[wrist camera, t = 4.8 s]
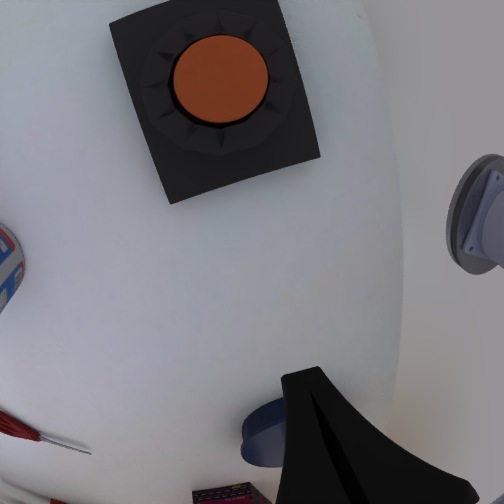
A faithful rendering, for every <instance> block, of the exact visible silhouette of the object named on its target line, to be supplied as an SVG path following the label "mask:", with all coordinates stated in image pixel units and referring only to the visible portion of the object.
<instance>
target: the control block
mask: <svg viewBox="0 0 504 504" xmlns="http://www.w3.org/2000/svg"><path fill="white" fill-rule="evenodd" d="M109 27H110V31H111V34H112V38H113V41H114V44H115V48H116V51H117V55H118V58H119V61H120V64H121V67H122V71H123V74H124V77H125V80H126V83H127V86H128V89H129V92H130V95H131V98H132V101H133V104H134V107H135V110H136V113H137V116H138V119H139V122H140V125H141V128H142V131H143V133H144V136H145V139H146V142H147V145H148V147H149V150H150V153H151V156H152V158H153V161H154V164H155V166H156V169H157V172H158V174H159V177H160V180H161V182H162V185H163V187H164V190H165V193H166V195H167V198H168V200H169V203H170V204H174V203H176V202H179V201H182V200H185V199H188V198H191V197H193V196H196V195H199V194H202V193H205V192H208V191H211V190H214V189H217V188H220V187H223V186H226V185H229V184H232V183H235V182H238V181H242V180H245V179H248V178H251V177H254V176H258V175H261V174H264V173H267V172H271V171H274V170H278V169H281V168H284V167H288V166H291V165H295V164H298V163H302V162H305V161H309V160H313V159H316V158H320V157H321V156H320V151H319V147H318V142H317V138H316V133H315V129H314V125H313V121H312V117H311V112H310V108H309V104H308V101H307V97H306V93H305V89H304V85H303V82H302V78H301V74H300V71H299V67H298V64H297V60H296V57H295V53H294V50H293V47H292V43H291V40H290V37H289V34H288V30H287V27H286V24H285V21H284V18H283V15H282V12H281V9H280V6H279V3H278V0H170V1H167V2H164V3H161V4H158V5H155V6H152V7H149V8H146V9H144V10H141V11H138V12H136V13H133V14H131V15H128V16H126V17H123V18H121V19H119V20H116V21H114V22H112V23H110V24H109ZM219 35H223V36H232V37H236V38H239V39H241V40H244V41H246V42H247V43H249V44H250V45H252V46H253V47H254V48H255V49H256V50H257V51H258V52H259V54H260V55H261V56H262V58H263V60H264V62H265V65H266V68H267V73H268V84H267V89H266V92H265V94H264V96H263V98H262V100H261V102H260V103H259V104H258V106H257V107H256V108H255V109H254V110H253V111H251V112H250V113H249V114H247V115H246V116H244V117H242V118H240V119H237V120H234V121H230V122H224V123H215V122H209V121H205V120H202V119H200V118H197V117H196V116H194V115H192V114H191V113H190V112H188V111H187V110H186V109H185V108H184V107H183V105H182V104H181V103H180V101H179V99H178V98H177V95H176V93H175V89H174V71H175V68H176V65H177V63H178V61H179V59H180V57H181V56H182V54H183V53H184V52H185V51H186V50H187V49H188V48H189V47H190V46H191V45H193V44H194V43H196V42H198V41H200V40H202V39H204V38H207V37H212V36H219Z"/></svg>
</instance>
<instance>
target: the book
mask: <svg viewBox="0 0 504 504" xmlns="http://www.w3.org/2000/svg"><path fill="white" fill-rule="evenodd" d="M50 504H67V503H64V502H61V501H58V500H55V499H51V500H50Z"/></svg>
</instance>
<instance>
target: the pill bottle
mask: <svg viewBox="0 0 504 504" xmlns="http://www.w3.org/2000/svg"><path fill="white" fill-rule="evenodd" d="M24 270H25V264H24V257H23V253H22V251H21V248H20V246H19V244H18V242H17V240H16V239H15V237H14V236H13V235H12V233H11V232H10V231H9V230H8V229H7V228H5V227H4V226H3V225H1V224H0V314H1V313H2V311H3V310H4V308H5V306H6V305H7V303H8V302H9V300H10V299H11V298H12V296H13V295H14V293H15V292H16V290H17V289H18V287H19V286H20V284H21V282H22V279H23V276H24Z"/></svg>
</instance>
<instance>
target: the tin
mask: <svg viewBox="0 0 504 504" xmlns="http://www.w3.org/2000/svg"><path fill="white" fill-rule="evenodd" d="M283 417H286V409H285V404H284V397H283V398H280V399H277V400H275V401H272V402H270V403H268V404H266V405H264V406H262V407H260V408H258V409H257V410H255V411H254V412H253V413H252V414H250V415H249V416H248V417H247V419H246V420H245V422H244V423H243V426H242V437H243V441H244V440H245V439H246V438H247V437H248V436H249V435H250V434H251V433H253V432H254V431H256V430H257V429H259V428H260V427H262V426H264V425H266V424H268V423H270V422H273V421H275V420H278V419H281V418H283Z"/></svg>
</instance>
